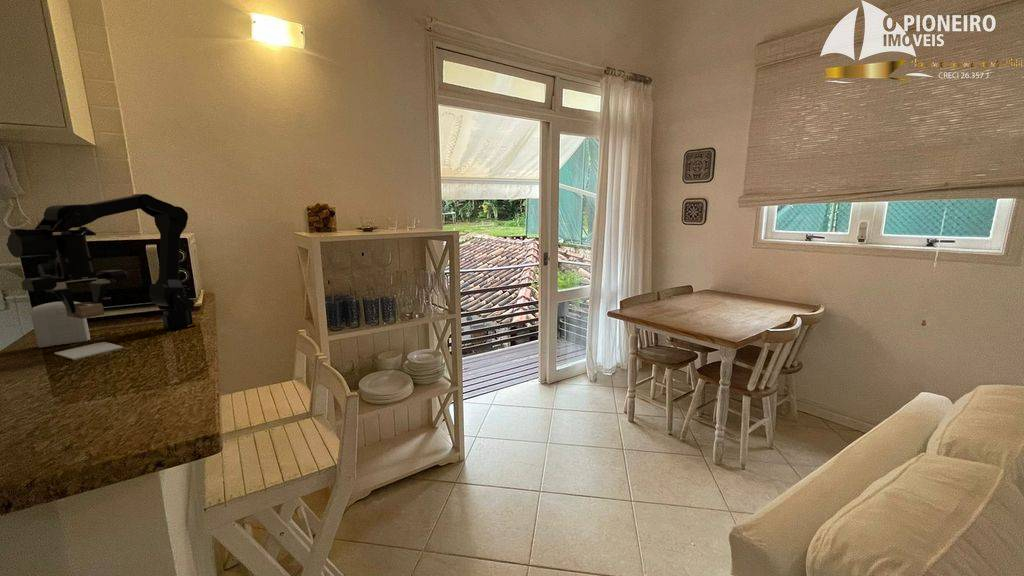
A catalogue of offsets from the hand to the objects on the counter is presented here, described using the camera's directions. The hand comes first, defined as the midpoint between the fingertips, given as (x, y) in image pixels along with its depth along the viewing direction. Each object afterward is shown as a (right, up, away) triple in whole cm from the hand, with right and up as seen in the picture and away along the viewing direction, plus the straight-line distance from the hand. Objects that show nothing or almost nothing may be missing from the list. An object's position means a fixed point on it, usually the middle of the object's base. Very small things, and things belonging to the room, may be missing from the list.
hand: (85, 311), depth 107 cm
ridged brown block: (0, -1, 0) cm, 1 cm away
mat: (0, -11, +2) cm, 11 cm away
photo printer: (-14, -10, +8) cm, 19 cm away
